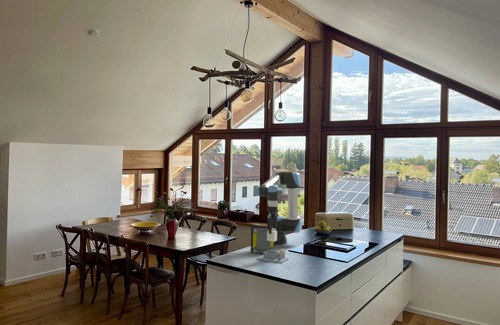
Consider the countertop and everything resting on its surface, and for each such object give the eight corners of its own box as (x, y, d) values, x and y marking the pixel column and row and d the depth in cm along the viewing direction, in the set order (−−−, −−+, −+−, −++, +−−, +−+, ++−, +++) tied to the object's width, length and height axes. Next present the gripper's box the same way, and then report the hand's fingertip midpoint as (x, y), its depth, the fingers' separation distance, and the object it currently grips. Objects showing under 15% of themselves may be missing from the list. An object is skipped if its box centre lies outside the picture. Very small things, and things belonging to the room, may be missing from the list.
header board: (264, 255, 282) (264, 244, 282) (288, 259, 273) (288, 248, 273) (257, 259, 272) (257, 247, 272) (281, 263, 262) (282, 251, 262)
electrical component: (252, 253, 288) (253, 228, 288) (250, 250, 298) (250, 226, 298) (274, 253, 291) (274, 228, 291) (271, 250, 301) (271, 225, 301)
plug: (269, 239, 276) (269, 229, 276) (276, 240, 273) (277, 230, 273) (267, 240, 272) (267, 230, 272) (274, 241, 269) (274, 231, 269)
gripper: (273, 204, 282) (272, 235, 282) (262, 206, 267) (262, 238, 267) (282, 205, 278) (281, 236, 278) (272, 207, 263) (271, 240, 263)
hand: (272, 237), depth 273 cm, fingers closed on plug, 4 cm apart
